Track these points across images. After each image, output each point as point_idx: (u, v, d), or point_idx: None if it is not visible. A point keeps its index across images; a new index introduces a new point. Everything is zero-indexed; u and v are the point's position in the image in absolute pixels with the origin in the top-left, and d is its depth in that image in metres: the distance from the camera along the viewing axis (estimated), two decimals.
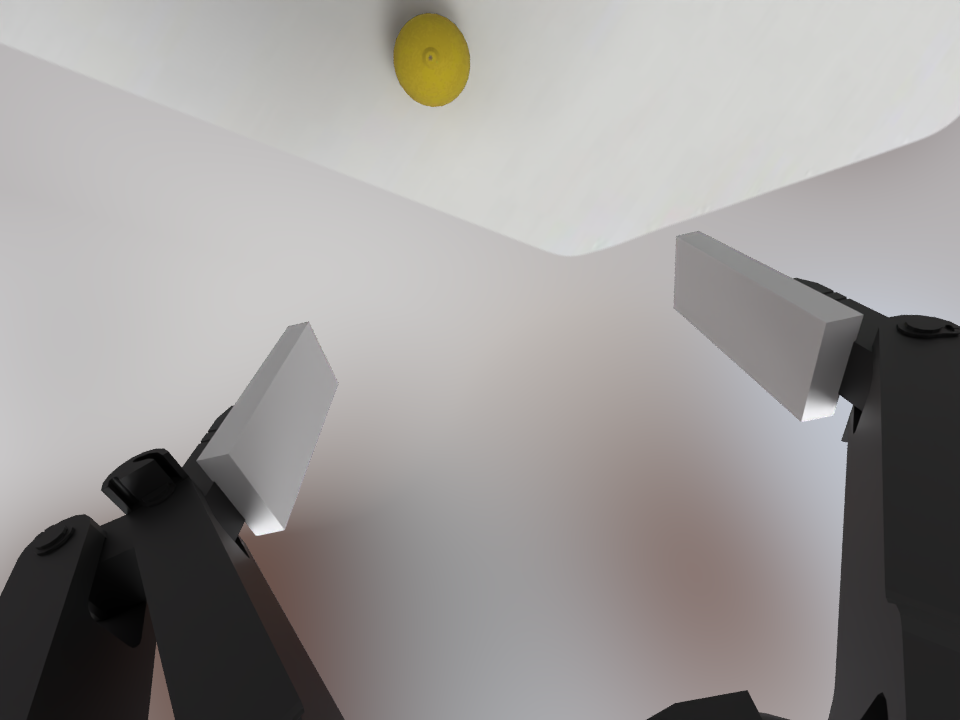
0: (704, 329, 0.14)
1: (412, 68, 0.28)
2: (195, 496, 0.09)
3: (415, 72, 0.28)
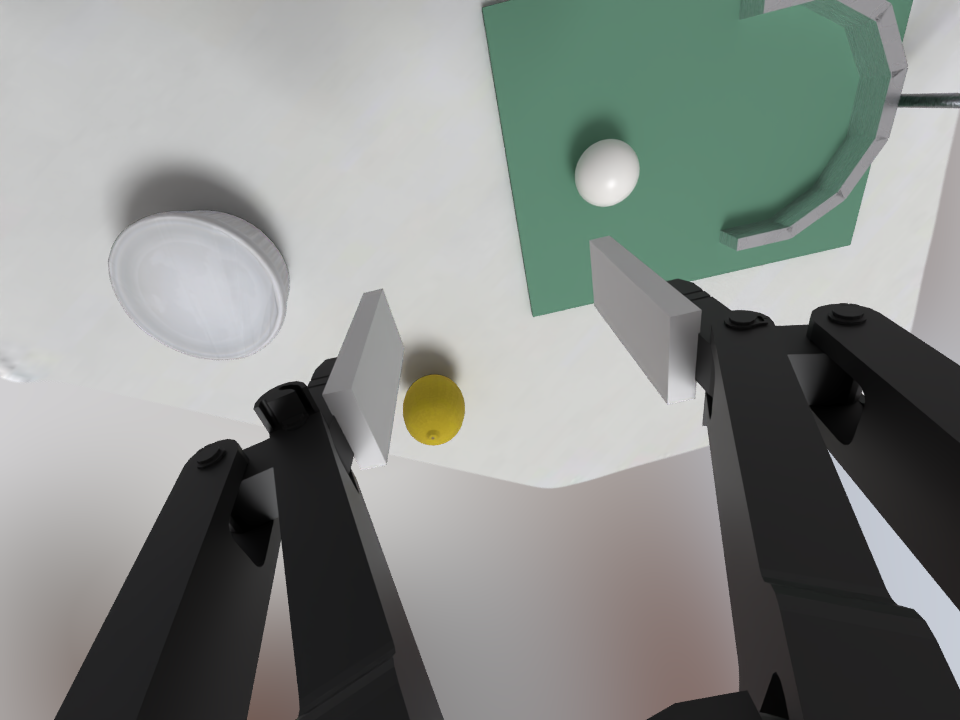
0: (612, 325, 0.15)
1: (418, 437, 0.36)
2: (323, 429, 0.09)
3: (420, 439, 0.36)
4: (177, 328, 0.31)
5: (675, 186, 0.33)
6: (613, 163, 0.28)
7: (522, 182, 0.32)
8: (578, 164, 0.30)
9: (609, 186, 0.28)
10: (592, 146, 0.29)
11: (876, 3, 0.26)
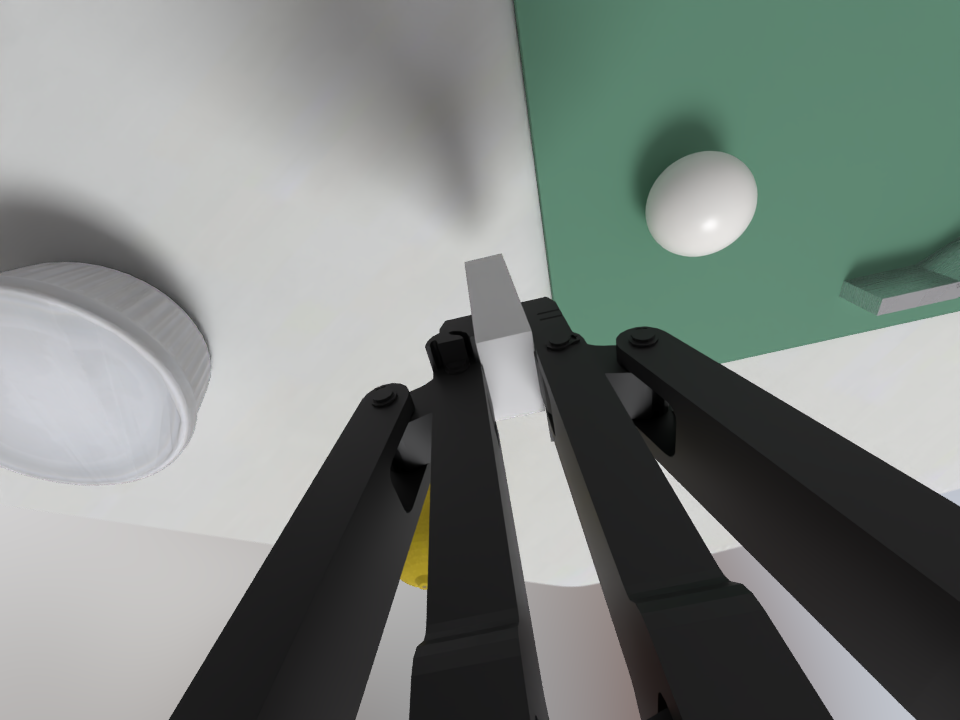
0: None
1: (404, 580, 0.25)
2: (481, 380, 0.10)
3: (407, 583, 0.25)
4: (21, 447, 0.20)
5: (789, 219, 0.22)
6: (722, 193, 0.17)
7: (560, 215, 0.21)
8: (656, 191, 0.18)
9: (711, 230, 0.17)
10: (681, 163, 0.18)
11: None
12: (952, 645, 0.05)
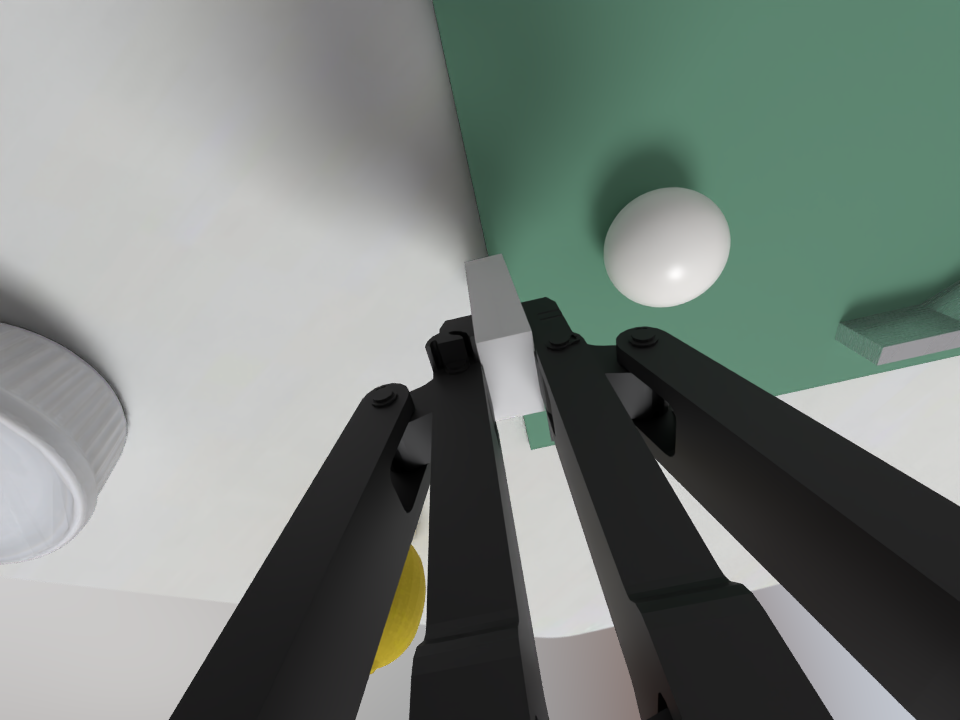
0: None
1: None
2: (480, 380, 0.10)
3: None
4: None
5: (774, 257, 0.19)
6: (686, 241, 0.14)
7: (509, 257, 0.18)
8: (612, 234, 0.16)
9: (675, 282, 0.15)
10: (640, 202, 0.15)
11: None
12: (954, 646, 0.05)
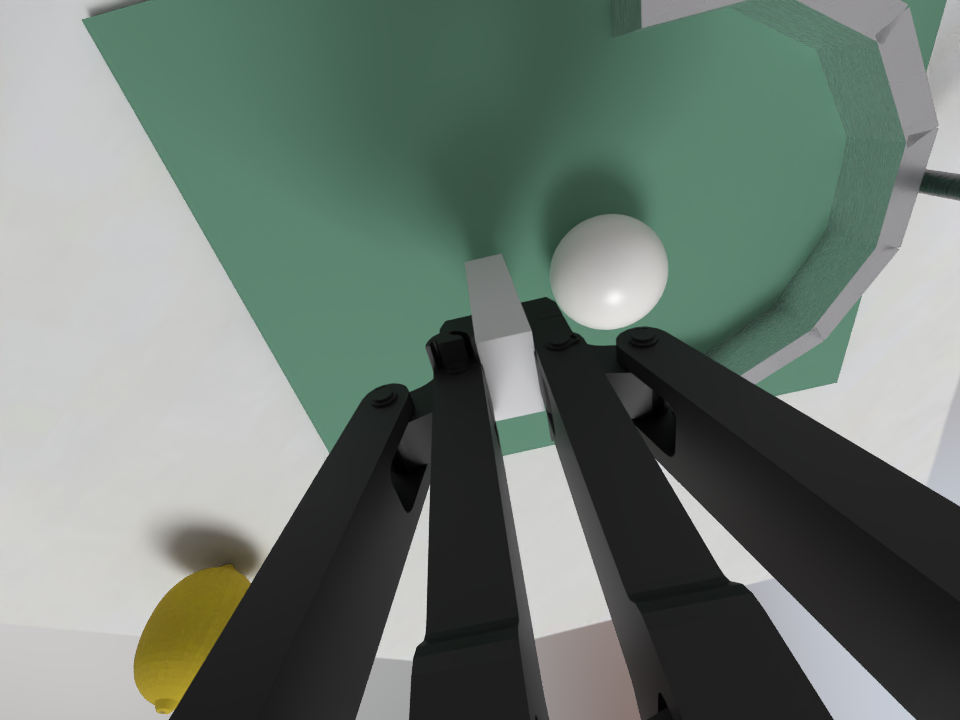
0: None
1: None
2: (480, 380, 0.10)
3: None
4: None
5: None
6: None
7: (271, 315, 0.19)
8: None
9: None
10: None
11: (877, 5, 0.12)
12: (953, 646, 0.05)
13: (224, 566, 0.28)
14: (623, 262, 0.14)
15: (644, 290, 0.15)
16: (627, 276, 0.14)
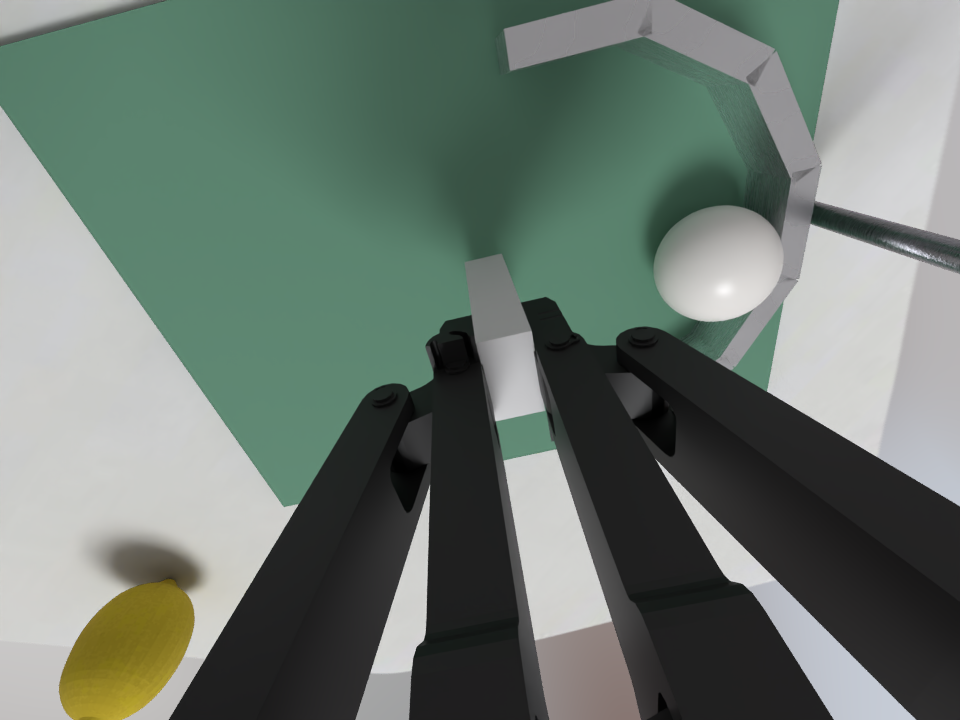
0: None
1: None
2: (481, 380, 0.10)
3: None
4: None
5: None
6: None
7: (185, 339, 0.19)
8: (732, 260, 0.14)
9: None
10: (733, 222, 0.15)
11: (744, 49, 0.13)
12: (954, 646, 0.05)
13: (164, 581, 0.28)
14: None
15: None
16: None
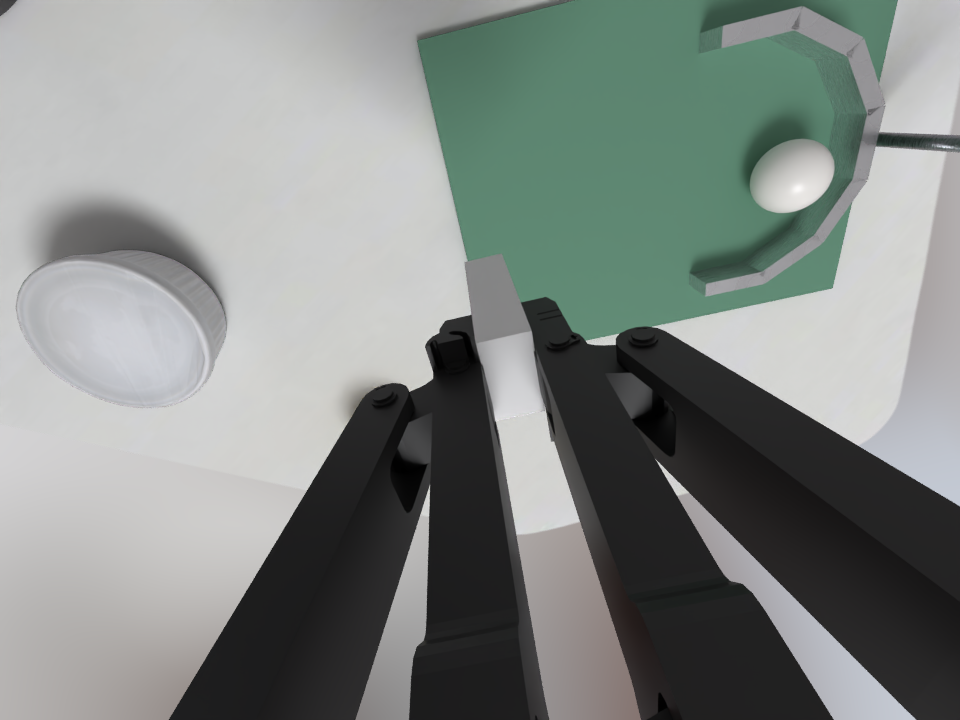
0: None
1: None
2: (481, 380, 0.10)
3: None
4: (96, 375, 0.29)
5: (638, 227, 0.31)
6: (828, 163, 0.25)
7: (471, 222, 0.30)
8: (777, 169, 0.26)
9: (822, 188, 0.26)
10: (791, 148, 0.26)
11: (846, 37, 0.23)
12: (953, 646, 0.05)
13: None
14: None
15: None
16: None
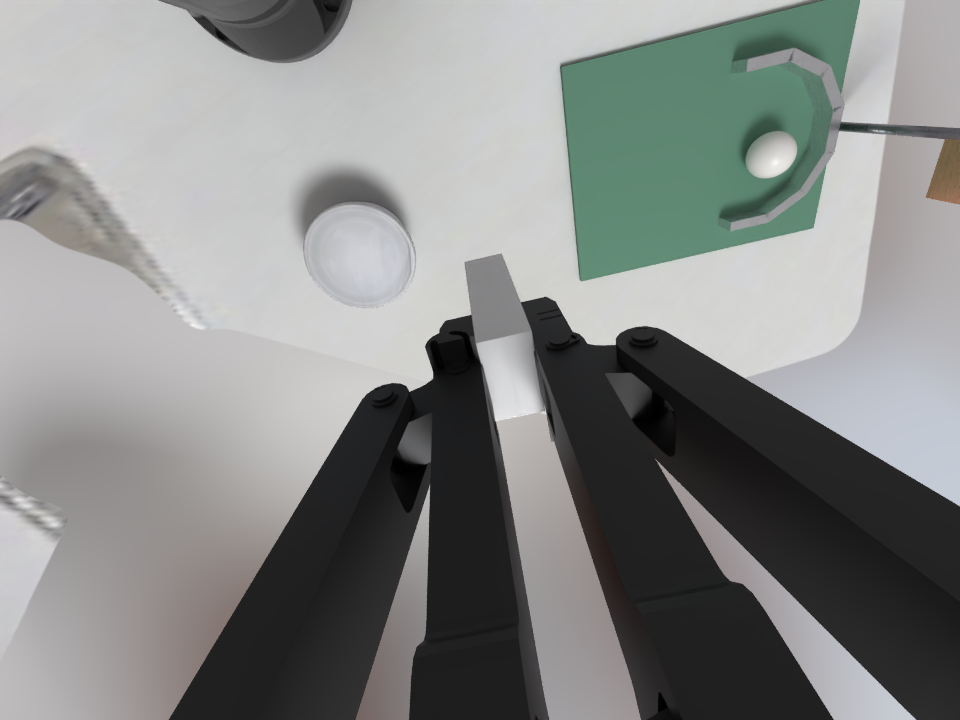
0: None
1: None
2: (480, 380, 0.10)
3: None
4: (341, 283, 0.45)
5: (686, 185, 0.47)
6: (779, 150, 0.41)
7: (579, 182, 0.46)
8: (751, 150, 0.43)
9: (774, 166, 0.42)
10: (763, 137, 0.42)
11: (820, 65, 0.39)
12: (952, 645, 0.05)
13: None
14: None
15: None
16: None
